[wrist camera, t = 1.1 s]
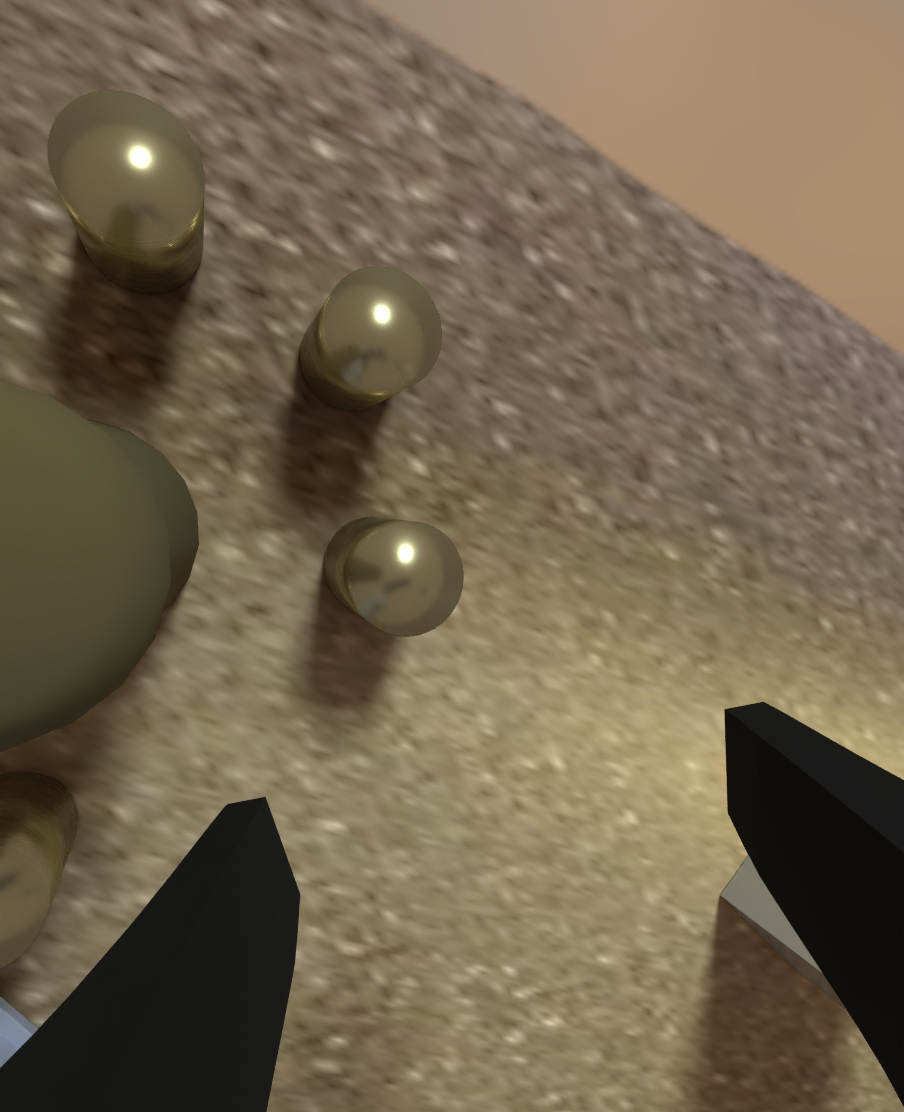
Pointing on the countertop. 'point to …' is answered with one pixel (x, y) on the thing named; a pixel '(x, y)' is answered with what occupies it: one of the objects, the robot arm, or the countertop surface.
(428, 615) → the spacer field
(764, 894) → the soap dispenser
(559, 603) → the countertop surface
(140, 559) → the cork
